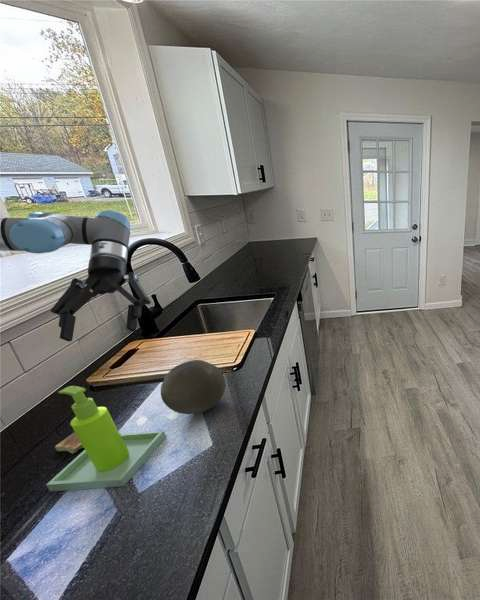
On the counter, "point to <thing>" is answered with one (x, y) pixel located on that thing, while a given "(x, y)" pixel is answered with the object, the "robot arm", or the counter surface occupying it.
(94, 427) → the soap dispenser
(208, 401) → the dark grey rounded lump
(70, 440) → the shard
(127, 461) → the green tray
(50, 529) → the counter surface
